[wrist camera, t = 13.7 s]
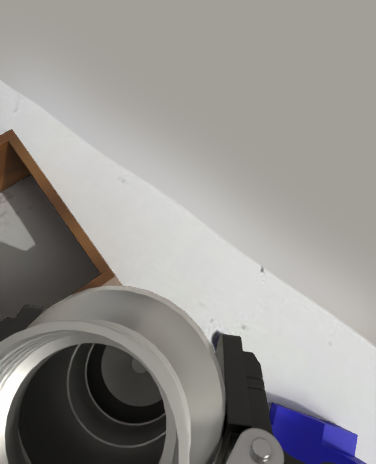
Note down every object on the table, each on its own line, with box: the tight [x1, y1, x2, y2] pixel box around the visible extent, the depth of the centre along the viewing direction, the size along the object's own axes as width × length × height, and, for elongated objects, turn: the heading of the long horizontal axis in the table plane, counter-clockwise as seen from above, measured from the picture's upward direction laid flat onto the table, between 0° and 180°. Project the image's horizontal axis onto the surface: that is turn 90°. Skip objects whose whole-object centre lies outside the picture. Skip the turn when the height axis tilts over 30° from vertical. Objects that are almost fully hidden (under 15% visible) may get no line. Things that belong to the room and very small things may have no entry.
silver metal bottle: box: [0, 286, 226, 464], centre depth 14 cm, size 6×7×20 cm
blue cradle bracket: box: [269, 403, 366, 464], centre depth 26 cm, size 12×4×6 cm, turn 72°
